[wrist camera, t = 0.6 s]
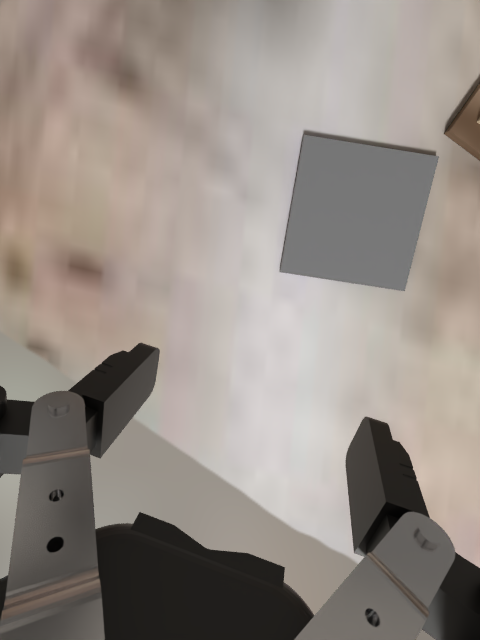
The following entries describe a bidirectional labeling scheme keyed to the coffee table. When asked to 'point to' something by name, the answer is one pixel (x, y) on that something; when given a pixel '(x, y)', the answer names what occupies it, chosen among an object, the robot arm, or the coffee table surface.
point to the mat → (356, 212)
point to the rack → (468, 125)
